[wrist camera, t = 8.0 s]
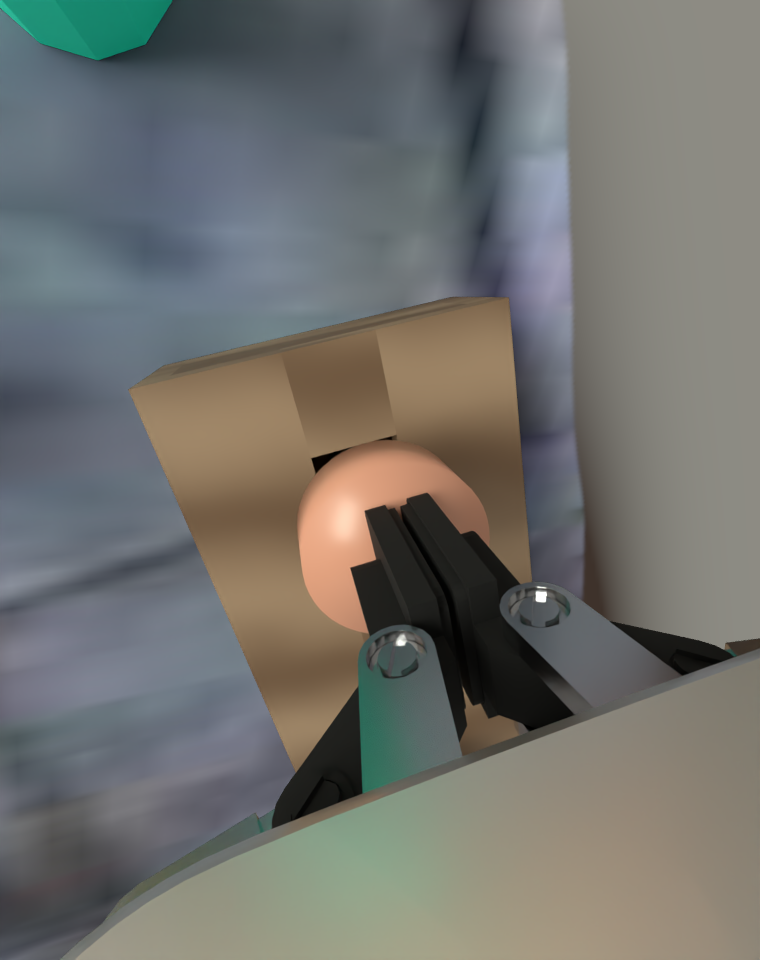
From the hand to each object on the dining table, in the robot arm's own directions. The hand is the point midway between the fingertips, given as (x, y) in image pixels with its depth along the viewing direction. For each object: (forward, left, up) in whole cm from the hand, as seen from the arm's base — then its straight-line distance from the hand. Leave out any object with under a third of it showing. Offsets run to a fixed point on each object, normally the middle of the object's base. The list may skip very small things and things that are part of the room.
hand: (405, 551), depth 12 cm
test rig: (-6, -5, -10) cm, 13 cm away
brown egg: (0, 0, -7) cm, 7 cm away
